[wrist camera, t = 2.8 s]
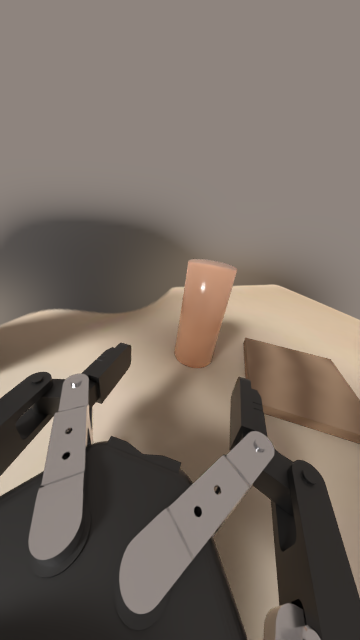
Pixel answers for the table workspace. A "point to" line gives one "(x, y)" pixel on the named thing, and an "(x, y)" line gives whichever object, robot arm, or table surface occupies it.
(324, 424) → the walnut pad
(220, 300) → the orange tan cylinder
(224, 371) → the table surface
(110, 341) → the table surface
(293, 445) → the table surface
